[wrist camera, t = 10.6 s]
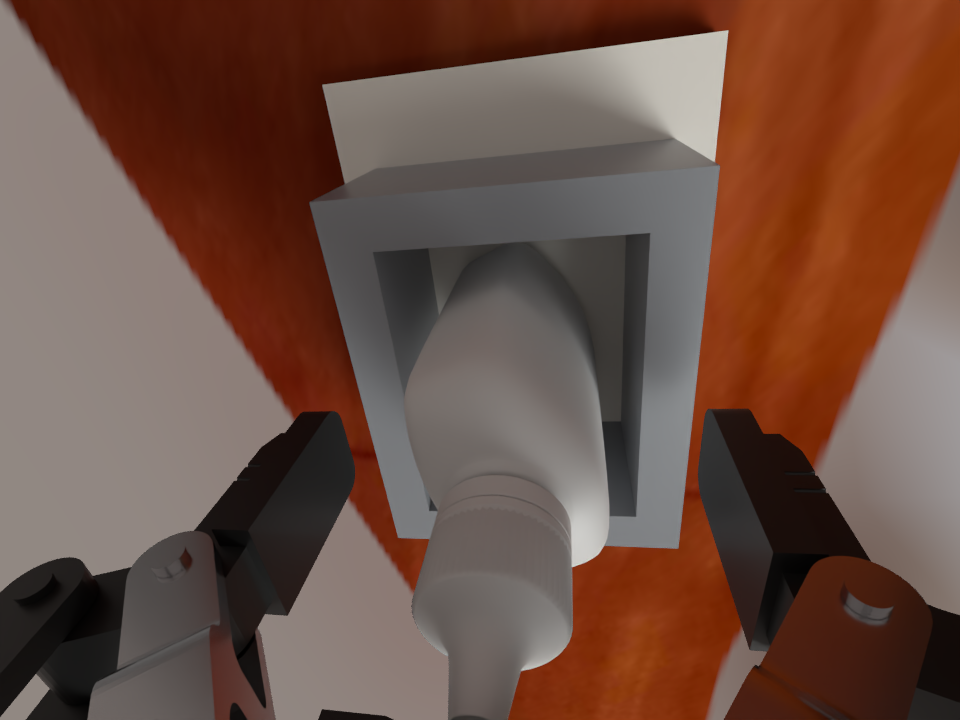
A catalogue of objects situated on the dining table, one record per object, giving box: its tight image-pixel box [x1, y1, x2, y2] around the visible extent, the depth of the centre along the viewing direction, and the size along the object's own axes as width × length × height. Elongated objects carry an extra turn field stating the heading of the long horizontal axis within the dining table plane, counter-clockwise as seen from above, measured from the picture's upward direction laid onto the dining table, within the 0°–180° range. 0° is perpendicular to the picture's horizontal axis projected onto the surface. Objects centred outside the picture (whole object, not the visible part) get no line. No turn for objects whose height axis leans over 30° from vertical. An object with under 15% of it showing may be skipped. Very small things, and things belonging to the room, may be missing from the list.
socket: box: [309, 30, 728, 548], centre depth 15 cm, size 15×10×6 cm
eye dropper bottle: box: [404, 242, 609, 720], centre depth 11 cm, size 4×6×12 cm
